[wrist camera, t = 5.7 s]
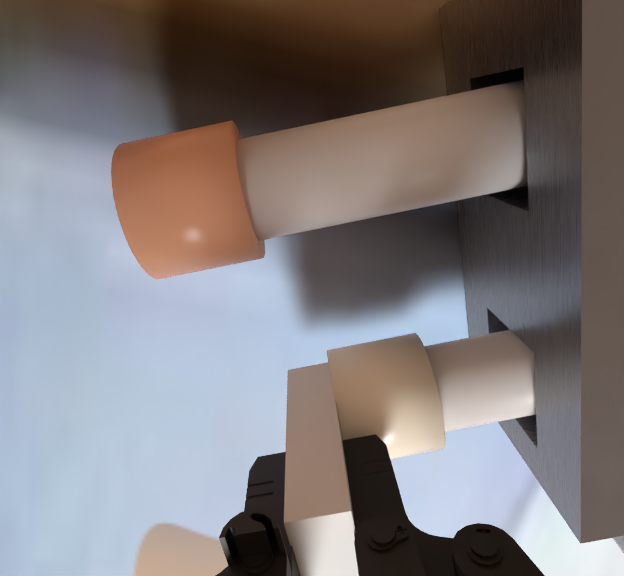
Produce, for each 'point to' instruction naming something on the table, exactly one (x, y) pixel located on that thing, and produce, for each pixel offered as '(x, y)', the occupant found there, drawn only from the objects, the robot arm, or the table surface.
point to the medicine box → (620, 542)
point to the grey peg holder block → (555, 237)
